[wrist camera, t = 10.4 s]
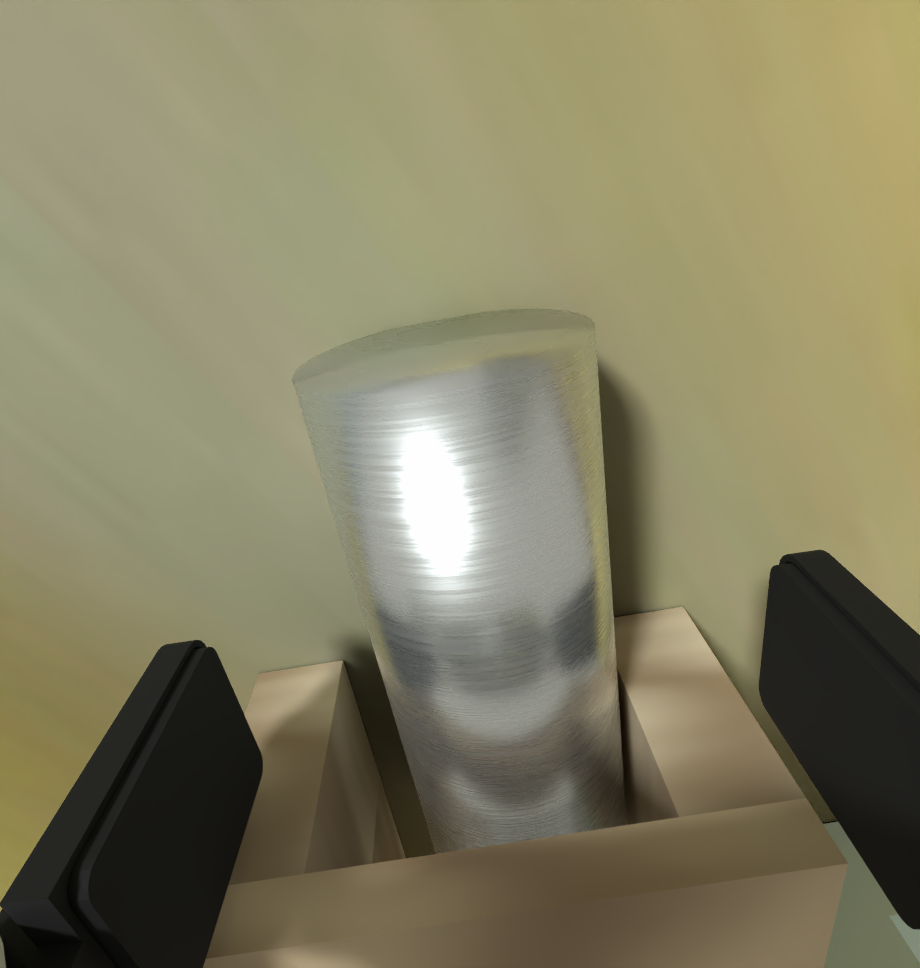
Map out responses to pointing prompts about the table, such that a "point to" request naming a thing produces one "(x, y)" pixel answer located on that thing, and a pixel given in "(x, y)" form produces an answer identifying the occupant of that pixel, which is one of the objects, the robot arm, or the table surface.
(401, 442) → the axle
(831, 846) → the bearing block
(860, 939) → the v block
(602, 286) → the table surface
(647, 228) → the table surface
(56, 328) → the table surface
